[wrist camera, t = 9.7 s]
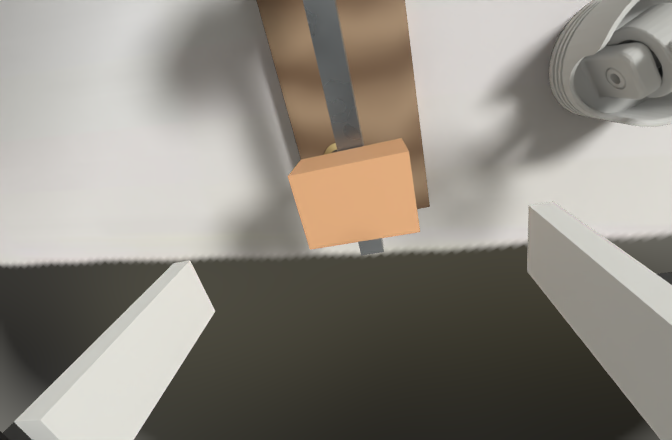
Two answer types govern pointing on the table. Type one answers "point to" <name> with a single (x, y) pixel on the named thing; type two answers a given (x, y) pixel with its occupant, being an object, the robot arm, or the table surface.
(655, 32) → the engine component
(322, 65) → the grey piece
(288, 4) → the hole plate
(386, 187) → the block
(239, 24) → the table surface
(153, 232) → the table surface
